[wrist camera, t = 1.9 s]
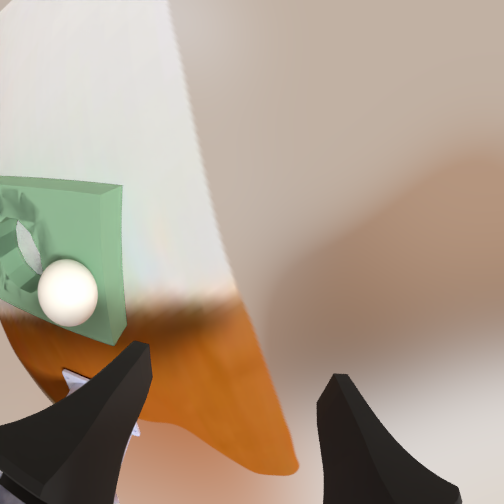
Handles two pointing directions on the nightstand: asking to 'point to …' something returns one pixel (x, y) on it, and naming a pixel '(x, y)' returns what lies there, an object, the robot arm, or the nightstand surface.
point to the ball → (67, 292)
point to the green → (64, 245)
